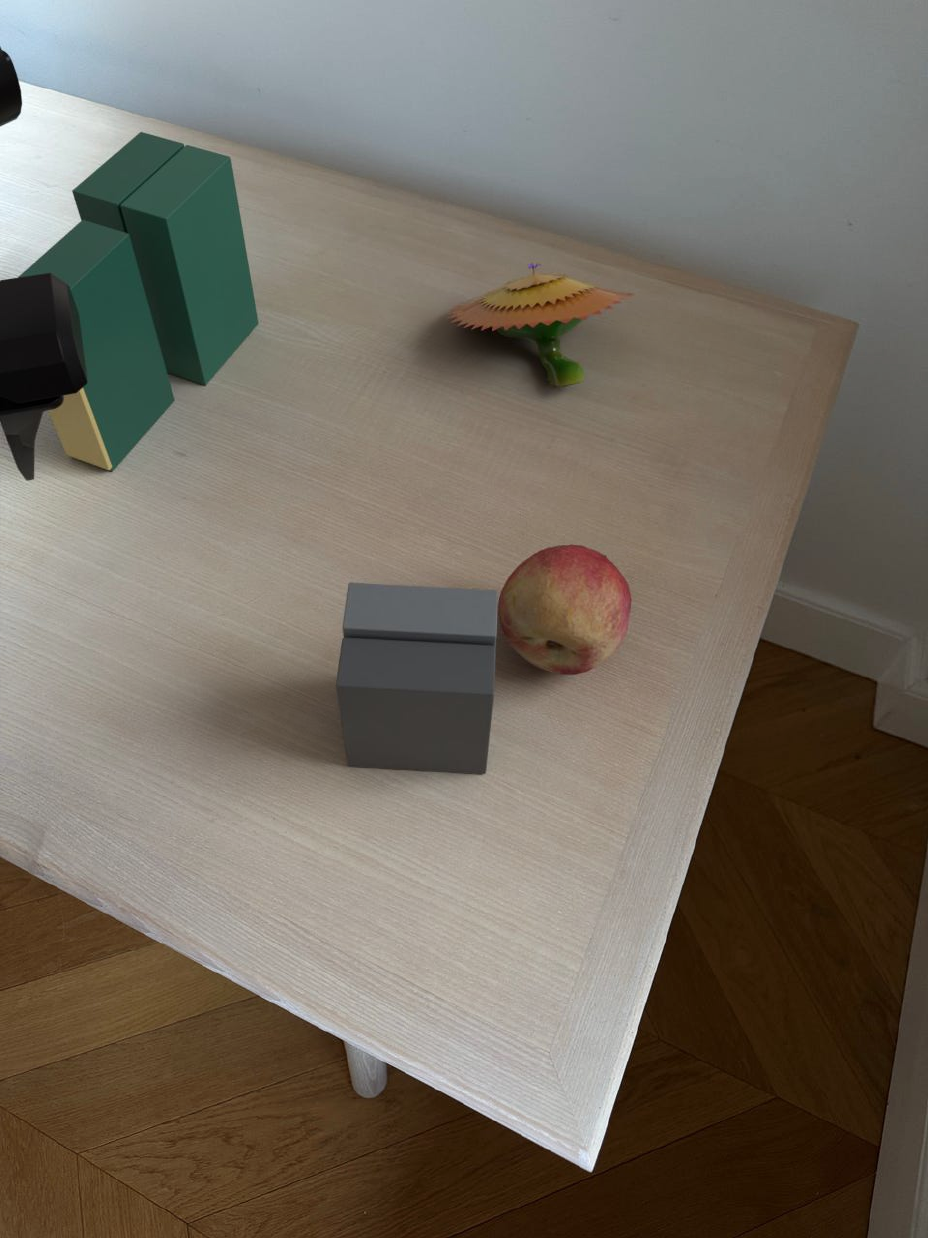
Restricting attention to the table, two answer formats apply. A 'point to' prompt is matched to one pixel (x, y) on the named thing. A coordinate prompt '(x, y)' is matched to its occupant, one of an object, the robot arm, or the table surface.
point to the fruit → (565, 609)
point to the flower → (540, 315)
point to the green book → (108, 346)
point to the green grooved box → (180, 246)
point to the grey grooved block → (417, 677)
